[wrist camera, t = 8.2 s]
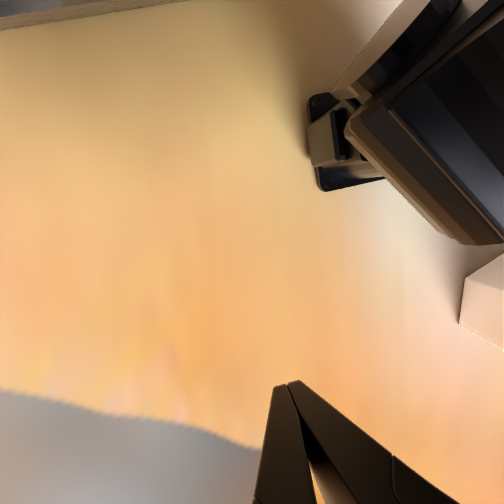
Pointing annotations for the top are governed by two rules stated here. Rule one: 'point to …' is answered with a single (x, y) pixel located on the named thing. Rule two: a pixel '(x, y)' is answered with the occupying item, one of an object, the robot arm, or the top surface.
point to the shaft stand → (62, 10)
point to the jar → (485, 303)
